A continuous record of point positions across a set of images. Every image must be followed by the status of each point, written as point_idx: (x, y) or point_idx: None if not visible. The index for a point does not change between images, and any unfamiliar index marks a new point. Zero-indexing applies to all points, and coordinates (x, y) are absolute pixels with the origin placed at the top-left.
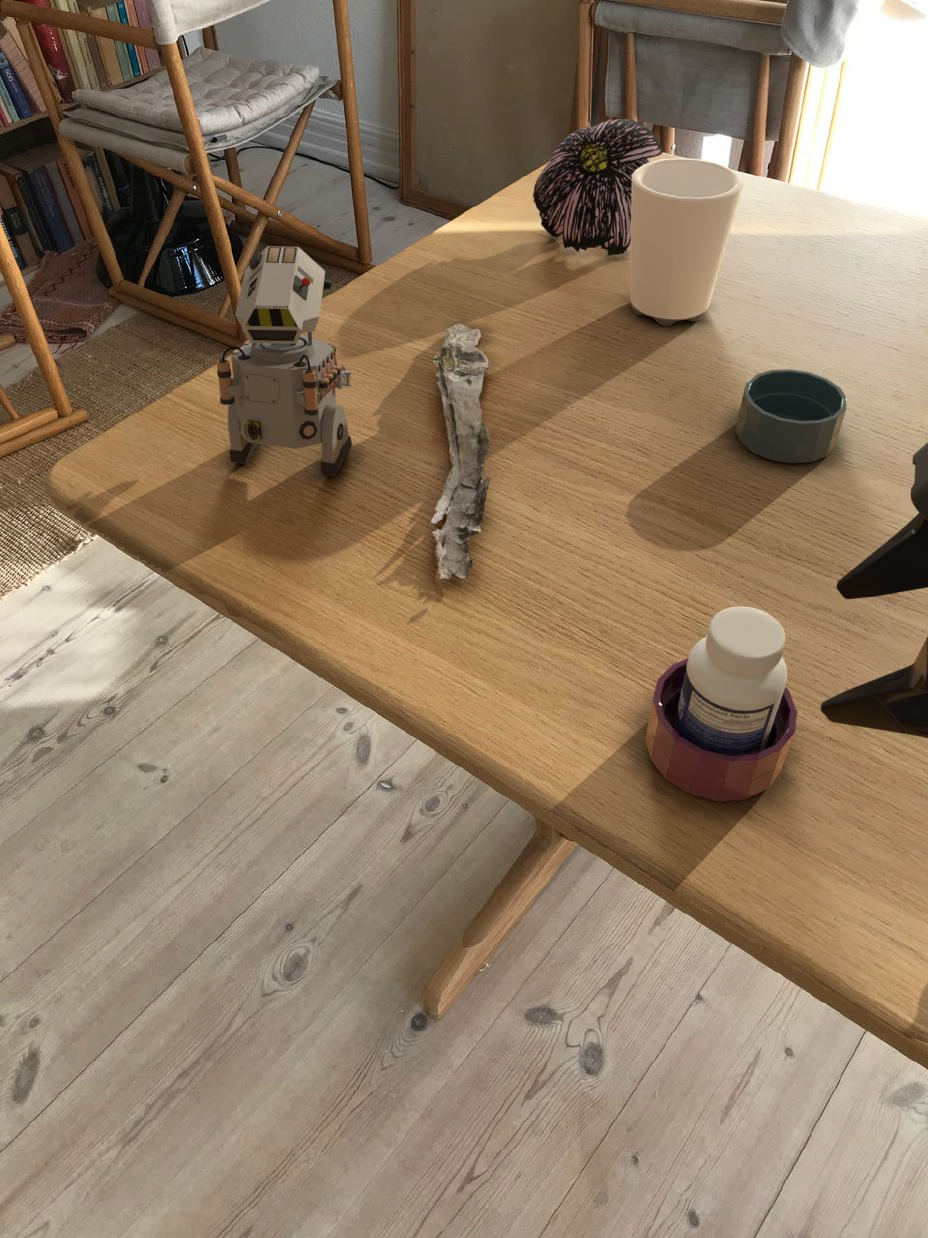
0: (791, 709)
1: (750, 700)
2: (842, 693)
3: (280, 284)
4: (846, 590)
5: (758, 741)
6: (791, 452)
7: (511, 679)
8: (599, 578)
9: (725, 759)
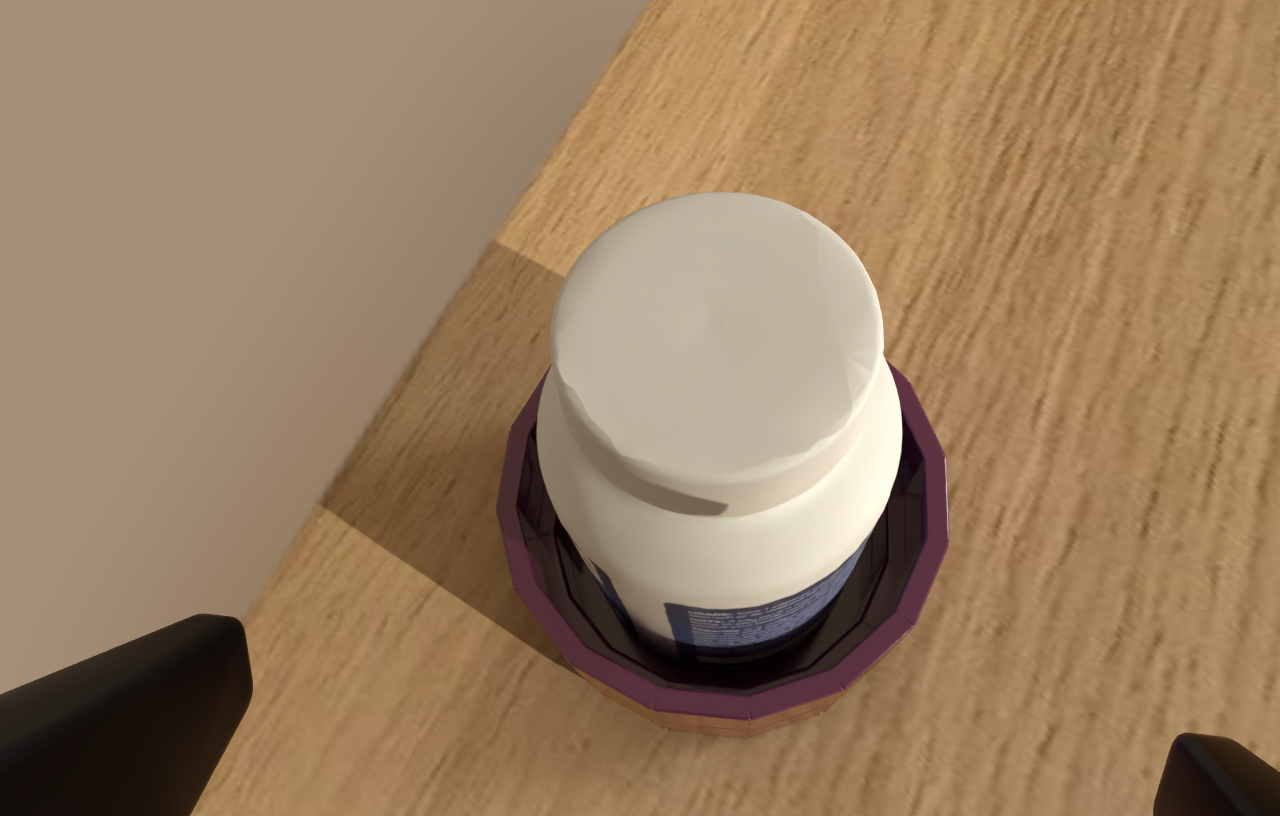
0: (753, 699)
1: (542, 461)
2: (136, 675)
3: None
4: (1182, 800)
5: (611, 600)
6: None
7: (812, 94)
8: (1264, 201)
9: (502, 497)
